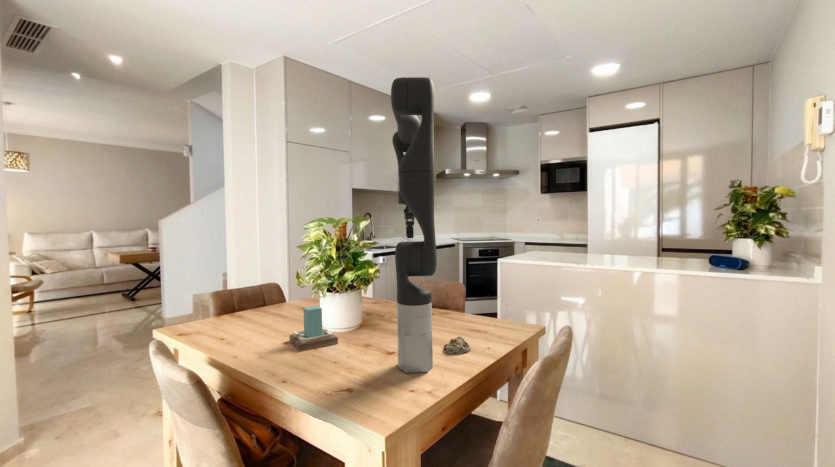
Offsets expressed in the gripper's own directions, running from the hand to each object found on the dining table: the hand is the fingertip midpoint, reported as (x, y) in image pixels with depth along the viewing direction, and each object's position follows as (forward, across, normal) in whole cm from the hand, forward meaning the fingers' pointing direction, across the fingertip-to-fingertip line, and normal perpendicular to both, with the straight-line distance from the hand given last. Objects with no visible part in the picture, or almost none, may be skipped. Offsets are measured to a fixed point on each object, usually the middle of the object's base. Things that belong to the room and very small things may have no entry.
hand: (409, 237), depth 130 cm
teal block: (+31, +7, -32) cm, 45 cm away
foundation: (+33, +7, -32) cm, 46 cm away
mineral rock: (+34, +17, +13) cm, 40 cm away
